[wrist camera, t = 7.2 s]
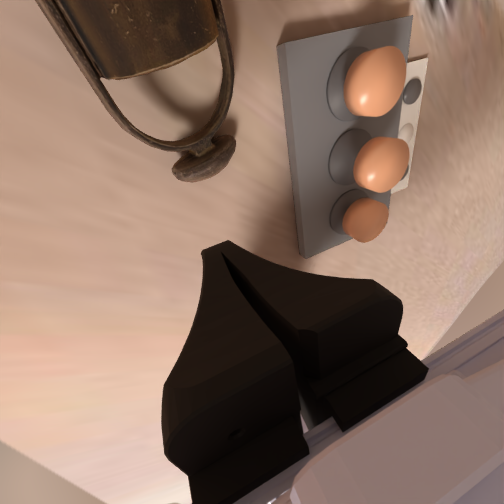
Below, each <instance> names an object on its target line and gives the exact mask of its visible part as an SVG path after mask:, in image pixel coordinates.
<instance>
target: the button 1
mask: <svg viewBox="0 0 504 504" xmlns="http://www.w3.org/2000/svg"><path fill="white" fill-rule="evenodd" d="M388 215H389V212H388V208H387V206H386V205H385V204H384V203H381V202H379V201H376V200H373V199H371V198H368V197H363V198H360V199H358V200H356V201H355V202H353V203H352V204H351V205H350V207H349V208H348V209H347V211H346V213H345V215H344V218H343V222H342V227H343V230H344V232H345V233H346V234H347V235H349V236H351V237H352V238H354V239H356V240H357V241H359V242H363V243H365V242H369V241H371V240H373V239H374V238H376V237H377V236H378V235H379V234H380V233H381V232H382V230H383V229H384V227H385V225H386V223H387V220H388Z"/></svg>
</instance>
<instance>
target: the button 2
mask: <svg viewBox="0 0 504 504" xmlns="http://www.w3.org/2000/svg"><path fill="white" fill-rule="evenodd" d="M405 80H406V62H405V58H404V56H403V54H402V52H401V51H400V50H399V49H398V48H397V47H394V46H385V47H381V48H377V49H373V50H369V51H366V52H364V53H362V54H360V55H359V56H358V57H357V58H356V59H355V60H354V61H353V63H352V64H351V66H350V68H349V70H348V72H347V75H346V78H345V82H344V100H345V104H346V106H347V108H348V110H349V111H350V112H351V113H352V114H354V115H356V116H371V117H378V116H382V115H384V114H386V113H387V112H388V111H390V110H391V109H392V108H393V106H394V105H395V104H396V103H397V101H398V99H399V97H400V95H401V93H402V91H403V88H404V84H405Z"/></svg>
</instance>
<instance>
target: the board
mask: <svg viewBox="0 0 504 504" xmlns="http://www.w3.org/2000/svg"><path fill="white" fill-rule="evenodd" d="M412 20H413V15H411V16H407V17H402V18H397V19H393V20H388V21H383V22H379V23H374V24H369V25H365V26H360V27H355V28H351V29H346V30H341V31H337V32H332V33H328V34H323V35H318V36H314V37H309V38H304V39H300V40H295V41H290V42H286V43H283V44H281V45H279V46H277V53H278V63H279V72H280V81H281V90H282V99H283V108H284V117H285V126H286V135H287V144H288V153H289V162H290V171H291V180H292V189H293V198H294V207H295V216H296V225H297V234H298V243H299V252H300V255H302V256H303V257H304V258H305V259H307V258H309V257H312V256H314V255H316V254H318V253H321V252H323V251H325V250H328V249H330V248H332V247H334V246H337V245H339V244H341V243H344V242H346V241H348V240H350V239H353V238H352V237H351V236H349V235H347V234H346V233H345V232H344V230H343V227H342V222H343V218H344V215H345V213H346V211H347V209H348V208H349V207H350V205H351V204H352V203H353V202H355V201H356V200H358V199H360V198H363V197H368V198H371V199H373V200H376V201H379V202H381V203H384V204H385V205H386V206H387V208H388V212H389V204H390V196H391V189H390V190H388V191H386V192H383V193H378V192H375V191H372V190H369V189H366V188H363V187H361V186H359V185H358V184H357V183H356V181H355V179H354V175H353V168H354V163H355V160H356V157H357V155H358V153H359V151H360V150H361V148H362V147H363V146H364V145H365V144H366V143H367V142H368V141H369V140H371V139H372V138H375V137H380V136H381V137H390V138H398V132H399V124H400V116H401V108H402V100H403V92H404V88H403V91H402V93H401V95H400V97H399V99H398V101H397V103H396V104H395V105H394V106H393V108H392V109H391V110H390V111H388V112H387V113H386V114H384V115H382V116H378V117H371V116H356V115H354V114H352V113H351V112H350V111H349V110H348V108H347V106H346V104H345V100H344V82H345V78H346V75H347V72H348V70H349V68H350V66H351V64H352V63H353V61H354V60H355V59H356V58H357V57H358V56H359V55H360V54H362V53H364V52H366V51H369V50H373V49H377V48H381V47H385V46H394V47H397V48H398V49H399V50H400V51H401V52H402V54H403V56H404V58H405V62H406V68H407V60H408V52H409V44H410V36H411V28H412ZM386 224H387V223H386Z"/></svg>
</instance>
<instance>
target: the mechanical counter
mask: <svg viewBox="0 0 504 504" xmlns="http://www.w3.org/2000/svg"><path fill="white" fill-rule="evenodd" d="M35 1H36V3H37V4H38V6H39V7H40V9H41V10H42V12H43V13H44V15H45V16H46V18H47V19H48V21H49V22H50V24H51V26H52V27H53V29H54V30H55V32H56V33H57V35H58V36H59V38H60V39H61V41H62V42H63V44H64V45H65V47H66V49H67V50H68V52H69V53H70V55H71V56H72V58H73V59H74V61H75V62H76V64H77V65H78V67H79V68H80V70H81V71H82V73H83V75H84V76H85V78H86V79H87V81H88V82H89V84H90V85H91V87H92V88H93V90H94V91H95V93H96V94H97V96H98V97H99V99H100V100H101V102H102V103H103V105H104V106H105V108H106V110H107V111H108V112H109V114H110V115H111V116H112V117H113V118H114V119H115V121H116V122H117V123H118V124H119V125H120V127H121V128H122V129H124V130H125V131H126V132H128V133H129V134H131V135H132V136H134V137H135V138H137V139H139V140H140V141H142V142H144V143H146V144H147V145H149V146H151V147H154V148H158V149H161V150H165V151H171V152H180V151H186V150H189V152H188V153H186V154H185V155H184V156H182V157H181V158H180V159H179V160H178V161H177V162H176V163H175V164H174V166H173V168H172V172H173V174H174V175H175V177H176V178H177V179H178V180H181V181H185V182H197V181H201V180H205V179H208V178H211V177H212V176H214V175H216V174H218V173H219V172H220V171H221V170H222V169H223V168H225V167H226V166H227V164H228V162H229V161H230V159H231V157H232V155H233V153H234V152H235V147H236V140H235V138H234V137H233V136H231V135H223V136H218V137H216V138H213V139H211V138H212V137H213V135H214V134H215V133H216V132H217V131H218V129H219V128H220V126H221V125H222V123H223V122H224V120H225V118H226V115H227V112H228V109H229V106H230V102H231V99H232V93H233V83H234V63H233V54H232V49H231V44H230V39H229V35H228V31H227V26H226V22H225V18H224V13H223V9H222V5H221V1H220V0H35ZM216 39H217V43H218V47H219V51H220V56H221V61H222V67H223V78H222V84H221V89H220V95H219V100H218V104H217V106H216V109H215V111H214V113H213V115H212V117H211V119H210V121H209V122H208V123H207V124H206V125H205V126H204V127H203V128H202V129H201V130H200V131H199V132H197V133H195V134H193V135H191V136H189V137H187V138H185V139H183V140H178V141H163V140H159V139H155V138H153V137H151V136H149V135H146V134H145V133H143V132H141V131H140V130H138V129H137V128H135V127H134V126H133V125H132V124H131V123H130V122H129V121H128V120H127V119H126V118H125V117H124V115H123V114H122V112H121V111H120V110H119V108H118V107H117V105H116V104H115V102H114V101H113V99H112V98H111V96H110V94H109V93H108V91H107V90H106V88H105V86H104V85H103V83H102V82H101V80H100V78H101V77H103V78H106V79H108V80H109V79H115V80H121V79H127V78H131V77H135V76H139V75H144V74H148V73H151V72H155V71H158V70H162V69H166V68H169V67H171V66H174V65H176V64H179V63H180V62H182V61H184V60H186V59H188V58H189V57H191V56H193V55H196V54H198V53H200V52H201V51H203V50H205V49H207V48H208V47H209V46H210V45H212V44H213V43H214V42H215V41H216Z"/></svg>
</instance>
